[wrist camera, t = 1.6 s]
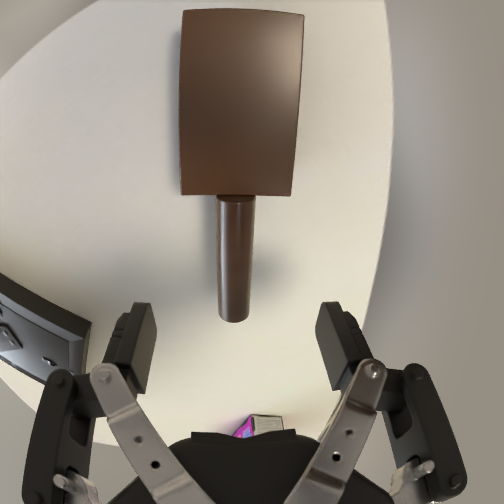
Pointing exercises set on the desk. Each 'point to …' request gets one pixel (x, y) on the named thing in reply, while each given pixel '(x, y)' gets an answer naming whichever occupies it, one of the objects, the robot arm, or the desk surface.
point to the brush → (238, 126)
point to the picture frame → (40, 334)
